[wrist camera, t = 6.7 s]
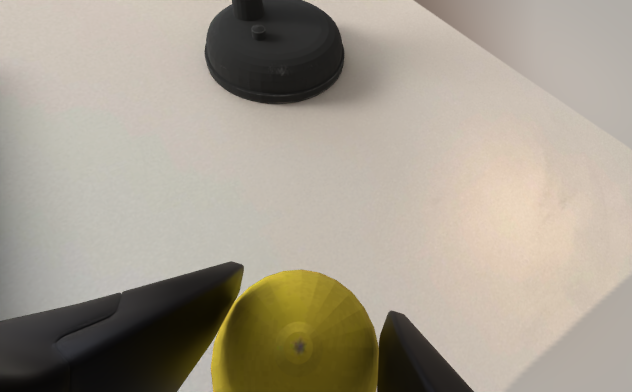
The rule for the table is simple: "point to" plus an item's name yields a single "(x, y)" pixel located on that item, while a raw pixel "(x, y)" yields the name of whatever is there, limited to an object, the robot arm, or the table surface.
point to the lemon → (296, 338)
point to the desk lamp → (274, 50)
